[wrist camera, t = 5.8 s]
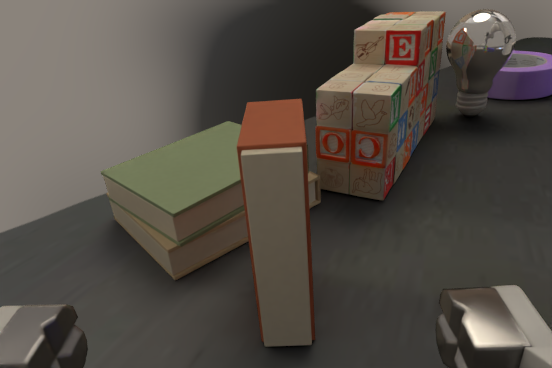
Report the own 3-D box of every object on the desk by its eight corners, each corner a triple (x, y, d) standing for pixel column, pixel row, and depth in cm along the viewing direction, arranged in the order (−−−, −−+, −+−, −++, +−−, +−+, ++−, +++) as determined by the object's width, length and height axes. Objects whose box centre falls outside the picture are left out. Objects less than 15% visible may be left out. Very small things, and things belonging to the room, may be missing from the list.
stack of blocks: (385, 204, 36) (393, 53, 30) (316, 190, 38) (311, 50, 33) (435, 117, 52) (446, 8, 46) (384, 113, 55) (388, 9, 49)
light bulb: (513, 114, 51) (534, 6, 45) (481, 131, 47) (500, 15, 42) (459, 103, 56) (472, 3, 50) (426, 117, 52) (437, 12, 46)
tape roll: (460, 98, 57) (464, 69, 56) (464, 75, 67) (468, 49, 65) (562, 103, 53) (570, 72, 51) (552, 77, 62) (558, 50, 60)
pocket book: (309, 269, 29) (301, 98, 23) (315, 347, 23) (307, 146, 18) (265, 271, 29) (247, 102, 24) (261, 349, 24) (235, 150, 18)
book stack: (245, 164, 44) (239, 116, 42) (323, 203, 36) (322, 147, 34) (111, 220, 37) (94, 165, 34) (173, 285, 29) (158, 220, 26)
